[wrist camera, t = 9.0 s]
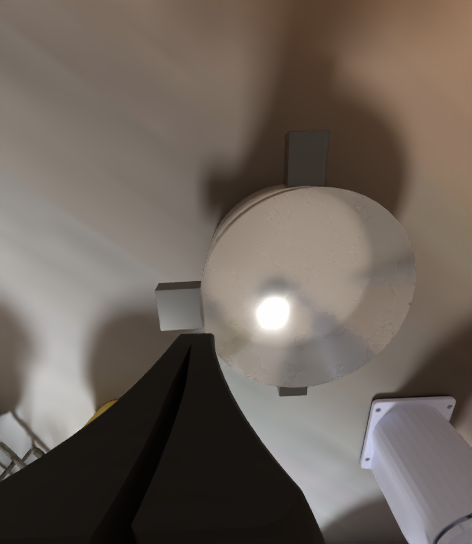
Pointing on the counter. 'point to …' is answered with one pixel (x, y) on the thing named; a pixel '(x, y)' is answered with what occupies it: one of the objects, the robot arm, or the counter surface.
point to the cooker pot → (289, 187)
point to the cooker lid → (300, 287)
